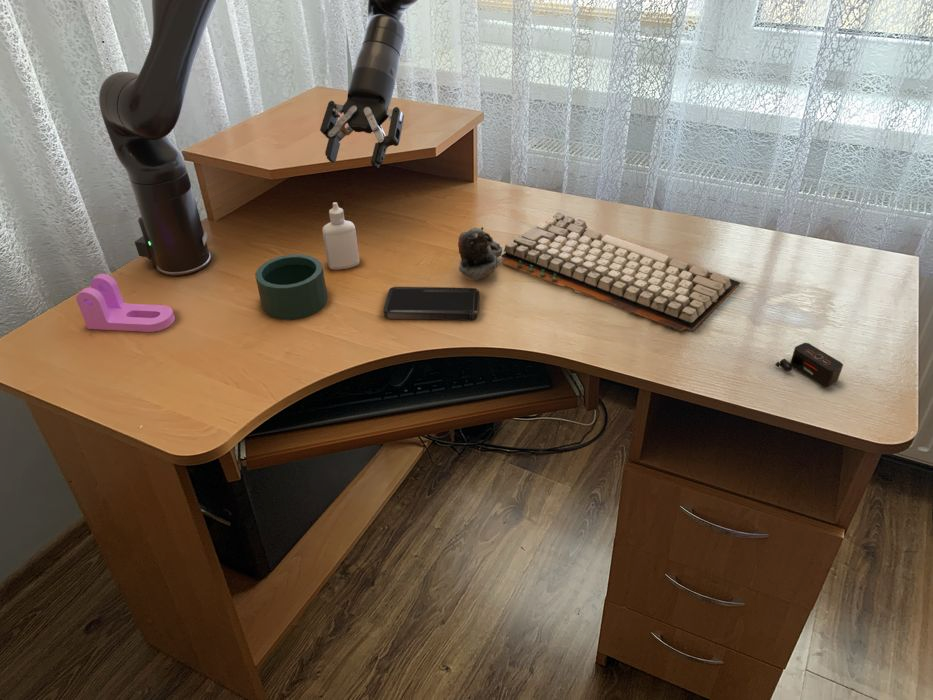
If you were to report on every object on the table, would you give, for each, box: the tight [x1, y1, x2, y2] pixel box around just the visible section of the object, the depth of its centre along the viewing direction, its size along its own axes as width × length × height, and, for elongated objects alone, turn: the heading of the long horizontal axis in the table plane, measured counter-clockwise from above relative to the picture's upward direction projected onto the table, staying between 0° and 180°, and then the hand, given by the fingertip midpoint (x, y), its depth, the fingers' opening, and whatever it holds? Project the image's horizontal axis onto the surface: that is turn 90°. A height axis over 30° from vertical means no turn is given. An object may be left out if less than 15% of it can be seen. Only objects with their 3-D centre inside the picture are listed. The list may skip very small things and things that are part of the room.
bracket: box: [75, 273, 176, 333], centre depth 116 cm, size 13×6×7 cm, turn 83°
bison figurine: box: [457, 226, 503, 281], centre depth 125 cm, size 12×7×10 cm, turn 173°
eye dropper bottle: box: [322, 201, 360, 271], centre depth 128 cm, size 4×6×12 cm
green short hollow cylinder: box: [254, 253, 328, 321], centre depth 120 cm, size 11×11×6 cm
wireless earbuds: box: [774, 342, 844, 388], centre depth 102 cm, size 5×7×3 cm, turn 31°
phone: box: [383, 286, 480, 321], centre depth 119 cm, size 8×1×15 cm
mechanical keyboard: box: [500, 211, 741, 332], centre depth 126 cm, size 38×19×3 cm, turn 51°
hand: (352, 163), depth 127 cm, fingers open, 8 cm apart
